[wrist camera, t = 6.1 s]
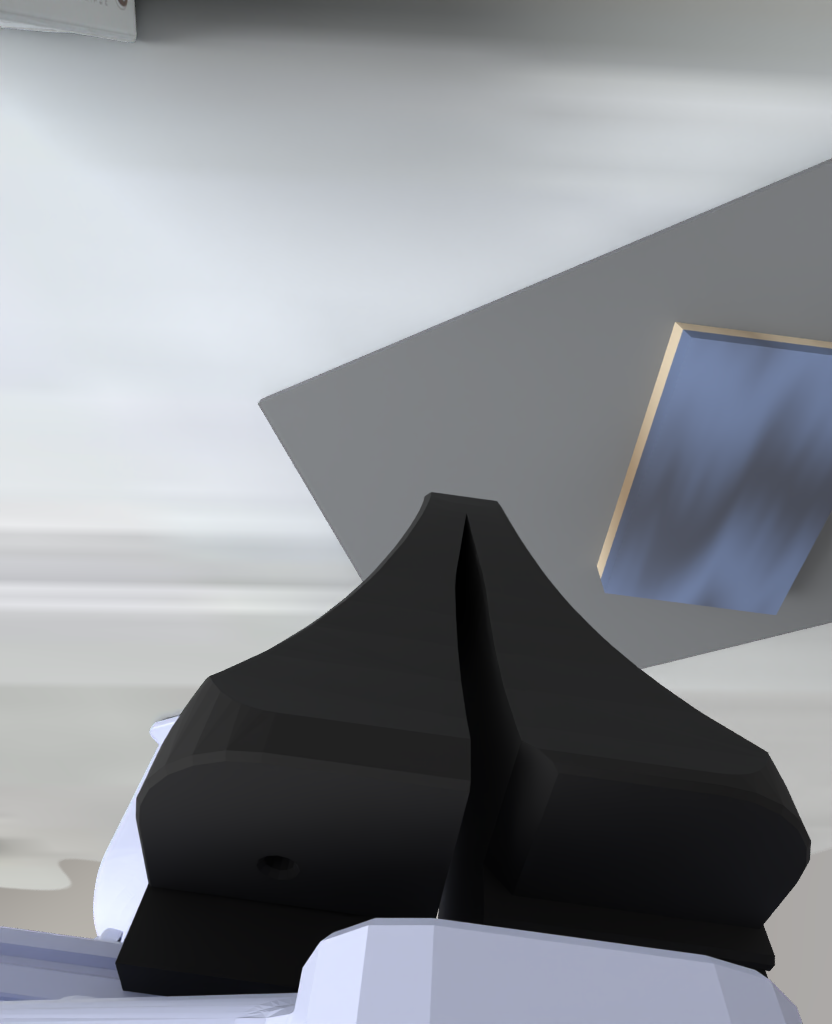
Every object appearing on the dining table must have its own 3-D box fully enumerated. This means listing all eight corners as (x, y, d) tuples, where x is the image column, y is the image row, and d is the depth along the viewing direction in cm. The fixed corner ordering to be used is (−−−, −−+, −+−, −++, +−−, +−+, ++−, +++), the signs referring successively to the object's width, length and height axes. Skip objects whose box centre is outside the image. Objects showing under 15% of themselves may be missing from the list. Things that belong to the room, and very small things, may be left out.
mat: (443, 710, 29) (442, 717, 28) (261, 399, 21) (257, 403, 21) (945, 585, 23) (952, 592, 23) (930, 116, 16) (940, 116, 16)
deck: (597, 565, 23) (758, 586, 23) (604, 593, 22) (776, 615, 22) (675, 322, 19) (877, 348, 19) (691, 337, 17) (909, 365, 17)
